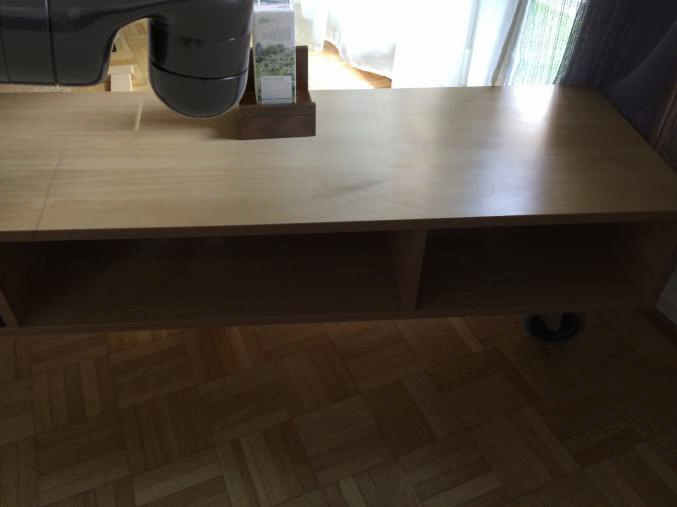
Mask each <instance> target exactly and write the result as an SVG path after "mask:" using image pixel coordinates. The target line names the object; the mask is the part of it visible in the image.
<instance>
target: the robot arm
mask: <svg viewBox="0 0 677 507" xmlns="http://www.w3.org/2000/svg"><path fill="white" fill-rule="evenodd" d="M253 13H254V0H0V86H1V85H2V86H25V87H49V88H50V87H52V88H57V87H60V88H92V87H93V88H94V87H96V86H99V85H101V84H102V83H103V82H104V81H105V80H106V78H107V76H108V73H109V69H110V66H111V61H112V55H113V50H114V45H115V41H116V38H117V35H119V32H121V30H123V29H124V28H126V27H128V26H129V25H131V24H133V23H135V22H137V21H141V20H144V19H146V20H147V22H146V23H147V28H146V29H147V30H146V31H147V75H148V82H149V85H150V88H151V90H152V92H153V93H154V95H155V97H156V98H157V99H158V101H159V102H161V104H163V106H164V107H166V108H168V110H170V111H172V112H173V113H175V114H177V115H180V116H182V117H185V118H187V119H194V120H208V119H209V120H210V119H214V118H217V117H220V116H223V115H224V114H227V113H228V112H230V111H231V110H233V109H234V108H235V107H236V106H238V102H239V101H240V100H241V98H242V96H243V94H244V92H245V89H246V84H247V76H248V64H249V54H250V47H251V44H252V23H253Z"/></svg>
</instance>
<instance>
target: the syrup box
mask: <svg viewBox="0 0 677 507" xmlns="http://www.w3.org/2000/svg"><path fill="white" fill-rule="evenodd" d="M251 44H252V47H253V62H254V81H255V94H256V100H257V105H258V104H280V103H296V69H295V46H296V12H295V8H294V6H293V2H292V0H254V13H253V23H252V33H251Z"/></svg>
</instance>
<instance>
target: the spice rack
mask: <svg viewBox="0 0 677 507" xmlns="http://www.w3.org/2000/svg"><path fill="white" fill-rule="evenodd" d="M295 69H296V103H280V104H258V105H257V100H256V94H255V81H254V62H253V46H250V54H249V64H248V76H247V84H246V89H245V92H244V94H243V96H242V98H241V100H240V101H239V102H238V104H237V106H238V117H239V118H238V119H239V129H240V139H241V140H242V141H244V140H245V141H246V140H260V139H262V140H263V139H264V140H265V139H278V138H279V139H282V138H298V137H300V138H301V137H315V136H316V135H317V104H316V102H315V101H312V97H311V94H310V91H309V47H308V45H306V44H305V45H295Z"/></svg>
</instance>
